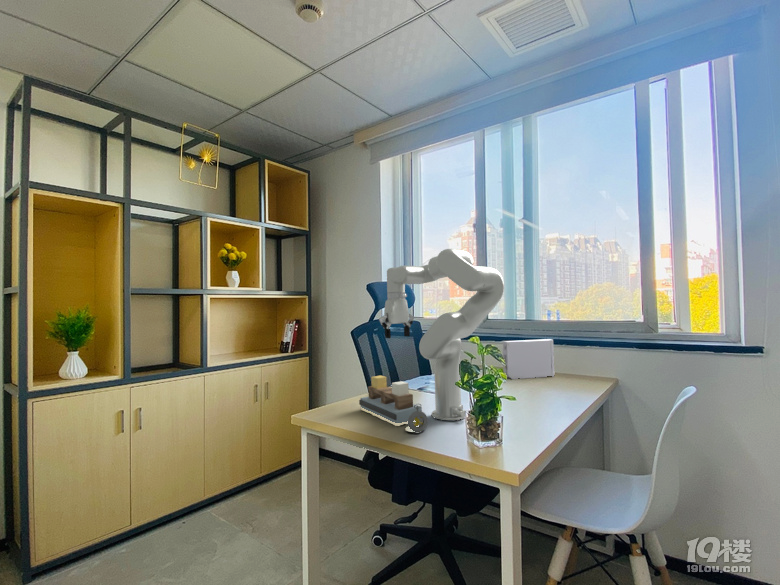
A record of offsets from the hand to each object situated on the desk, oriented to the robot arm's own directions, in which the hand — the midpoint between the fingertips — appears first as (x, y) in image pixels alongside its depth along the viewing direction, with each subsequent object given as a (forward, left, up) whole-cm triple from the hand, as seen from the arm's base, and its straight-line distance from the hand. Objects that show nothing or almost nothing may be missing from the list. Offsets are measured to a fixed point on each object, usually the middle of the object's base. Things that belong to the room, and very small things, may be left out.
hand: (397, 337), depth 162 cm
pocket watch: (-31, +15, -28) cm, 45 cm away
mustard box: (-3, +11, -19) cm, 22 cm away
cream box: (-18, +11, -19) cm, 28 cm away
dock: (-10, +12, -28) cm, 32 cm away
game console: (0, -86, -29) cm, 91 cm away
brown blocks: (-10, +11, -23) cm, 28 cm away
